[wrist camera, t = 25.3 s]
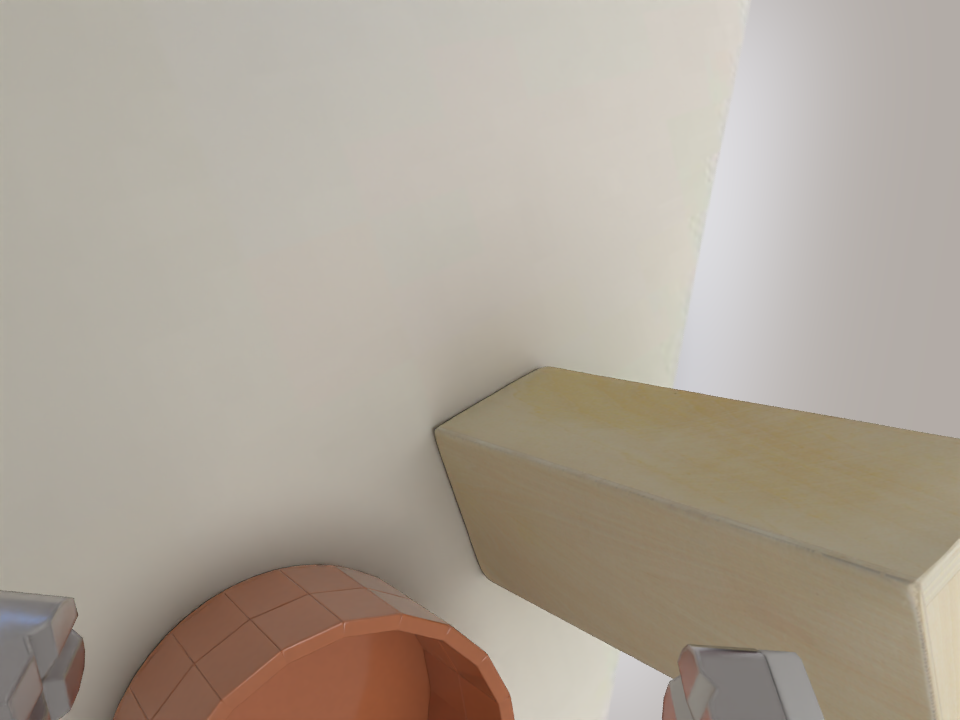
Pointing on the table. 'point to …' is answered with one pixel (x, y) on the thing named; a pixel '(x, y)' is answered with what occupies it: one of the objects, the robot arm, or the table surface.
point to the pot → (315, 657)
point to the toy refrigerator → (723, 531)
